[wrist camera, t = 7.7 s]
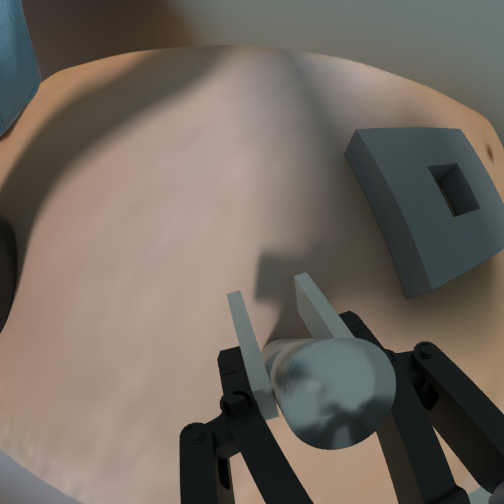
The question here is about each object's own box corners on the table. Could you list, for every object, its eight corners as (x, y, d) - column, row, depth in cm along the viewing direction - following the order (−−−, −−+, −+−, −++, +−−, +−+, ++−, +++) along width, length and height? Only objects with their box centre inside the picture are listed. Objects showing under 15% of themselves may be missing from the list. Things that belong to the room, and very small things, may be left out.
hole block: (406, 298, 19) (432, 290, 15) (344, 154, 23) (356, 129, 20) (497, 249, 21) (517, 239, 17) (446, 145, 25) (460, 129, 21)
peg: (266, 389, 17) (300, 465, 5) (253, 346, 18) (268, 361, 6) (310, 374, 17) (404, 419, 6) (297, 332, 18) (380, 320, 7)
